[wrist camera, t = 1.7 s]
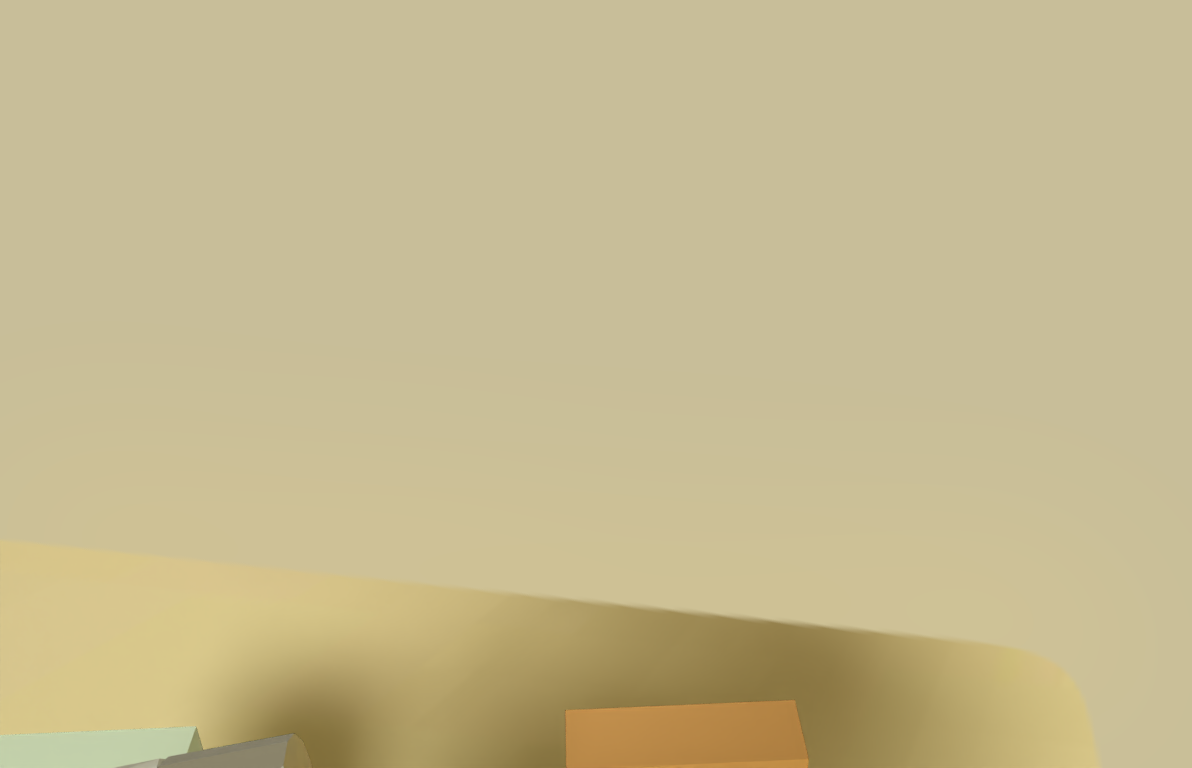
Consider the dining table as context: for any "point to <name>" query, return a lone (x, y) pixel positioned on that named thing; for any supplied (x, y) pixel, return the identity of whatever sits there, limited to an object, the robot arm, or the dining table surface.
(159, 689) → the dining table surface
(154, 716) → the dining table surface
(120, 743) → the sage paddle lever
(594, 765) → the orange paddle lever
